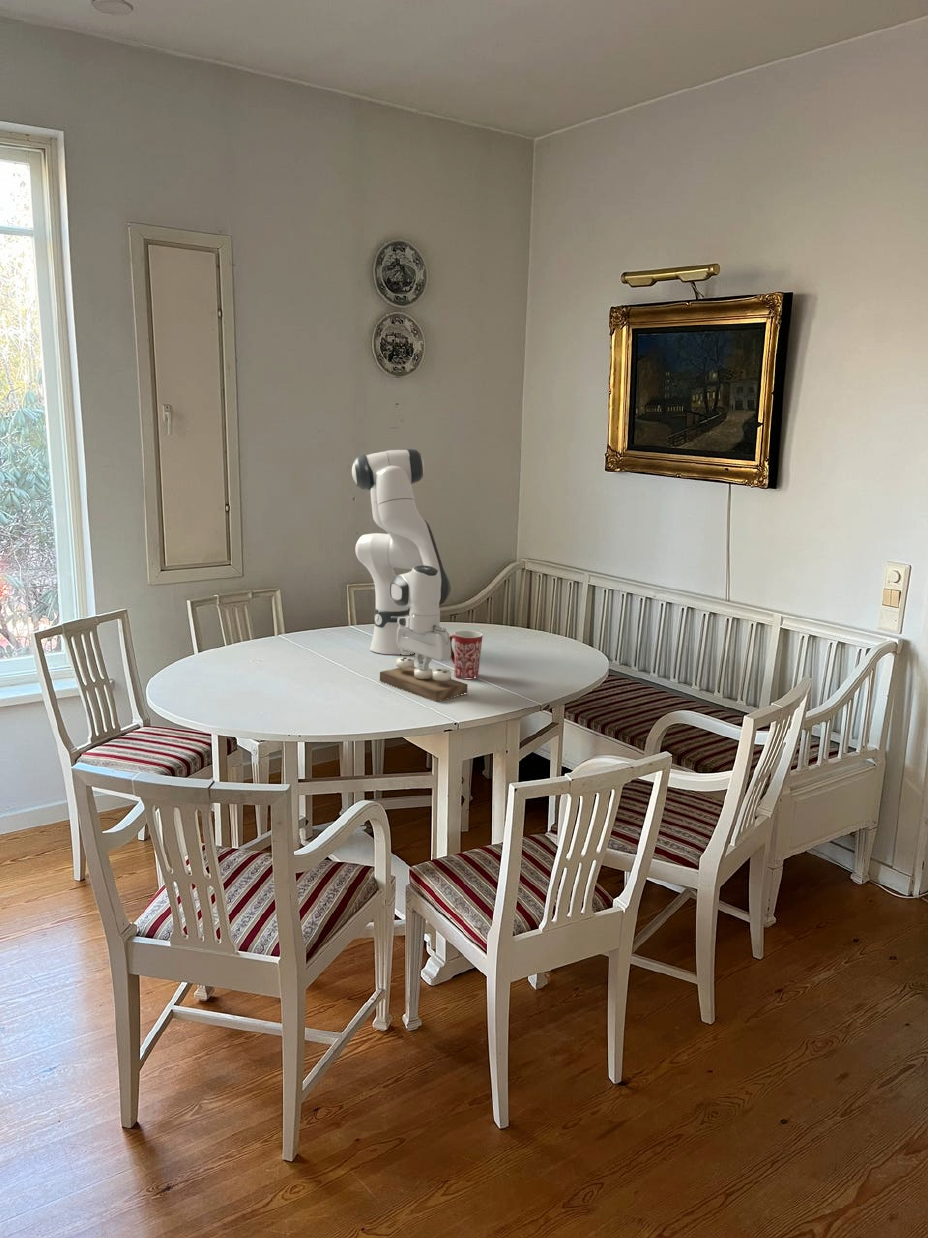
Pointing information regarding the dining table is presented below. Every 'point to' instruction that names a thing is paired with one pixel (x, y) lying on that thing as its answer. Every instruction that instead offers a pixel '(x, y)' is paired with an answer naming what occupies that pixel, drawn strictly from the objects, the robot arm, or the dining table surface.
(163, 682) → the dining table surface
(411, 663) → the button three
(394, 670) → the button board
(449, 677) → the button two
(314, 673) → the dining table surface
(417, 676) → the button one
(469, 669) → the mug
